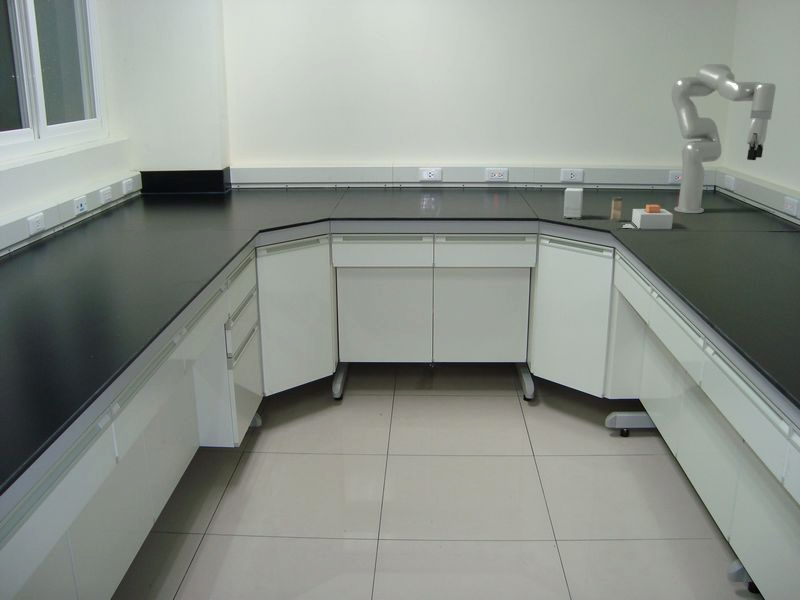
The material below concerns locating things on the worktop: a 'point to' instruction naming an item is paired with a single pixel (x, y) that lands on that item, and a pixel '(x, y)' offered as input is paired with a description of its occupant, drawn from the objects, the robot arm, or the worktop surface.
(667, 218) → the box
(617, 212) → the tan wooden block
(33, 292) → the worktop surface
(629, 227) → the pad
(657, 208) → the orange cube block
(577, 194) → the supplement box
